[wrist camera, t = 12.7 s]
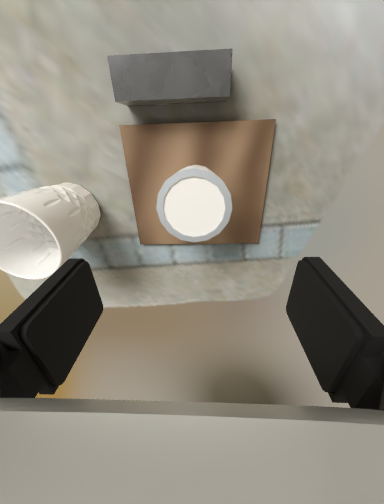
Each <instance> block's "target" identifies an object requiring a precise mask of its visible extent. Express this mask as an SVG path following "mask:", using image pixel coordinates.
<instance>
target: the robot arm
mask: <svg viewBox="0 0 384 504" xmlns="http://www.w3.org/2000/svg"><path fill="white" fill-rule="evenodd" d="M102 311H103V304H102V301H101V298H100V295H99V292H98V289H97V286H96V283H95V280H94V277H93V274H92V271H91V268H90V265H89V263H88V262H86V261H85V260H84V259H68V260H67V261H66V262H65V263H64V264H63V265H62V266H61V267H59V268H58V269H57V270H56V271H55V272H54V273H53V274H52V275H51V276H50V277H49V278H48V279H47V280H46V281H45V282H44V283H43V284H42V285H41V286H40V287H39V288H38V289H37V290H35V291H34V292H33V293H32V294H31V295H30V296H29V297H28V298H27V299H26V300H25V301H24V302H23V303H22V304H21V305H20V306H19V307H18V308H17V309H16V310H15V311H14V312H13V313H12V314H10V315H9V316H8V317H7V318H6V319H5V320H4V322H2V323H1V324H0V504H384V325H383V324H382V323H381V322H380V321H379V320H378V319H377V318H376V317H375V316H374V315H373V314H372V313H371V312H370V311H369V309H368V308H367V307H366V306H365V305H364V304H363V303H362V302H361V301H360V300H359V299H358V298H357V297H356V295H355V294H354V293H353V292H352V291H351V290H350V289H349V288H348V287H347V286H346V285H345V284H344V283H343V282H342V280H340V278H339V277H338V276H337V275H336V274H335V273H334V272H333V271H332V270H331V269H330V268H329V267H328V265H326V264H325V262H324V261H323V260H322V259H321V258H320V257H304V258H303V259H302V260H300V261H299V262H298V264H297V267H296V271H295V275H294V279H293V283H292V287H291V290H290V294H289V298H288V302H287V305H286V311H287V315H288V317H289V319H290V321H291V323H292V325H293V328H294V330H295V332H296V334H297V336H298V338H299V340H300V343H301V345H302V347H303V349H304V351H305V353H306V355H307V358H308V360H309V362H310V364H311V366H312V368H313V370H314V373H315V375H316V377H317V379H318V381H319V383H320V385H321V387H322V389H323V390H324V391H325V392H328V393H329V396H330V398H331V400H332V402H337V403H349V405H350V407H351V408H338V407H318V406H295V405H266V404H236V403H235V404H234V403H206V402H205V403H204V402H171V401H138V400H136V401H135V400H98V399H56V398H35V396H36V395H37V393H38V392H39V394H54V393H55V391H56V390H57V388H58V386H59V385H61V384H62V383H63V382H64V381H65V379H66V378H67V376H68V374H69V372H70V370H71V368H72V366H73V365H74V363H75V361H76V359H77V357H78V356H79V354H80V352H81V350H82V348H83V347H84V345H85V343H86V341H87V339H88V337H89V336H90V334H91V332H92V330H93V328H94V327H95V324H96V323H97V321H98V319H99V317H100V316H101V314H102Z"/></svg>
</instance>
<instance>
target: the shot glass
mask: <svg viewBox="0 0 384 504" xmlns="http://www.w3.org/2000/svg"><path fill="white" fill-rule="evenodd" d="M156 209H157V213H158V216H159V219H160V222H161V223H162V225H163V226H164V227H165V228H166V230H167V231H168V232H169V233H170V234H172V235H173V236H175V237H177V238H178V239H180V240H184V241H189V242H200V241H206V240H209V239H211V238H212V237H214V236H216V235H218V234H219V233H220V232H221V231H222V230H223V228H224V227H225V226H226V225H227V223H228V222H229V219H230V215H231V212H232V201H231V194H230V192H229V190H228V188H227V187H226V185H225V183H224V182H223V180H222V179H221V178H219V177H218V176H217V175H216V174H215V173H214V172H212V171H211V170H209V169H208V168H207V167H205V166H200V165H192V166H187V167H185V168H183V169H181V170H179V171H178V172H176V173H175V174H174V175H172V176H171V177H170V178H168V179H167V180H166V181H165V182H164V184H163V186H162V187H161V189H160V191H159V193H158V197H157V206H156Z"/></svg>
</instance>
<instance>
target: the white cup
mask: <svg viewBox="0 0 384 504" xmlns="http://www.w3.org/2000/svg"><path fill="white" fill-rule="evenodd" d="M100 216H101V214H100V209H99V204H98V203H97V201H96V200H95V198H94V197H93V195H92V194H91V193H90V192H89V191H87V190H86V189H84V188H83V187H81V186H80V185H77V184H72V183H68V182H65V183H61V184H57V185H53V186H44V187H41V188H36V189H32V190H27V191H23V192H20V193H16V194H13V195H9V196H5V197H1V198H0V269H1V270H3V271H4V272H6V273H8V274H11V275H13V276H16V277H19V278H23V279H30V280H39V279H45V278H48V277H50V276H51V275H52V274H53V273H54V272H55V271H56V270H57V269H58V268H59V267H61V266H62V265H63V264H64V263H65V262H66V261H67V260H68V259H69V258H70V257H71V256H72V255H73V253H74V252H75V251H76V250H77V249H78V248H79V247H80V246H81V244H82V243H83V242H84V241H85V240H86V239H87V238H88V236H89V235H90V233H91V232H92V231H93V230H94V229H95V228H96V227H97V226H98V224H99V220H100Z"/></svg>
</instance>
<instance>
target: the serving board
mask: <svg viewBox="0 0 384 504" xmlns="http://www.w3.org/2000/svg"><path fill="white" fill-rule="evenodd" d="M275 122H276V119H269V120H244V121H219V122H194V123H169V124H144V125H119V126H120V131H121V137H122V143H123V148H124V154H125V160H126V165H127V171H128V177H129V182H130V188H131V194H132V199H133V205H134V211H135V216H136V222H137V228H138V233H139V239H140V244H216V243H258V242H259V235H260V227H261V220H262V213H263V206H264V199H265V192H266V185H267V178H268V171H269V164H270V157H271V150H272V143H273V136H274V129H275ZM192 165H200V166H205V167H207V168H208V169H209V170H211V171H212V172H214V173H215V174H216V175H217V176H218V177H219V178H221V179H222V180H223V182H224V183H225V185H226V187H227V188H228V190H229V192H230V194H231V201H232V212H231V215H230V219H229V222H228V223H227V225H226V226H225V227H224V228H223V230H222V231H221V232H220V233H219V234H218V235H216V236H214V237H212V238H211V239H209V240H206V241H200V242H189V241H184V240H180V239H178V238H177V237H175V236H173V235H172V234H170V233H169V232H168V231H167V230H166V228H165V227H164V226H163V225H162V223H161V222H160V219H159V216H158V213H157V209H156V206H157V197H158V193H159V191H160V189H161V187H162V186H163V184H164V182H165V181H166V180H167V179H168V178H170V177H171V176H172V175H174V174H175V173H176V172H178V171H179V170H181V169H183V168H185V167H187V166H192Z"/></svg>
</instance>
